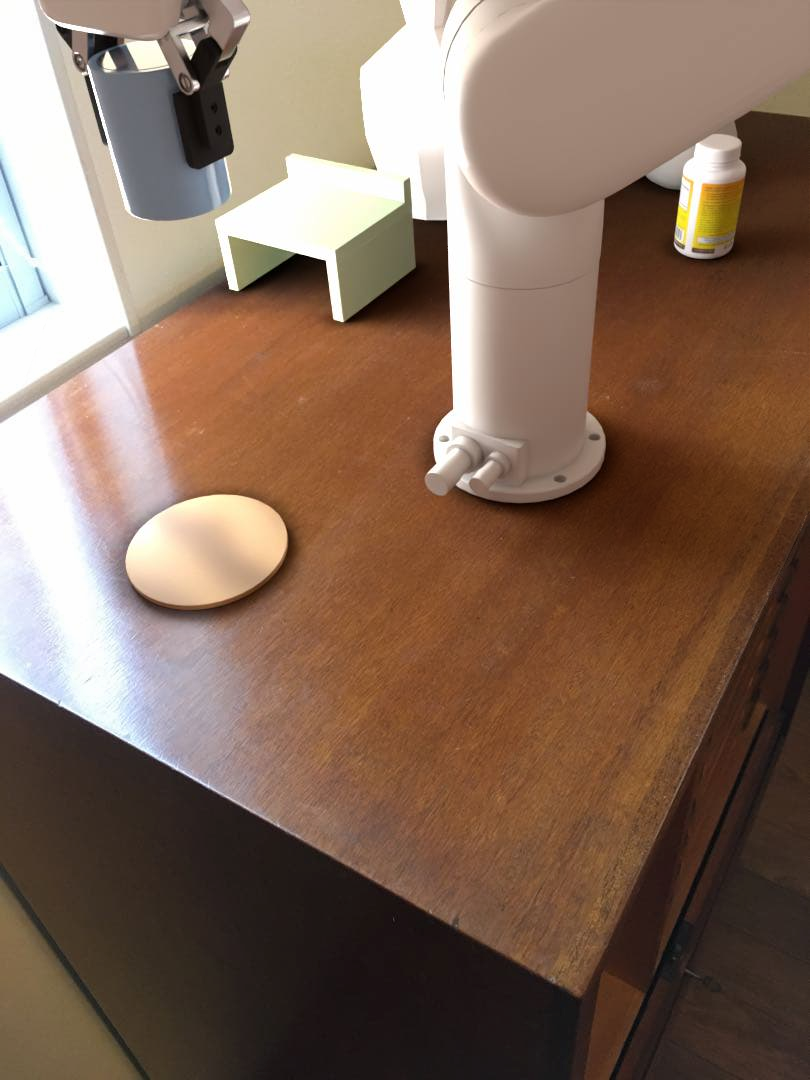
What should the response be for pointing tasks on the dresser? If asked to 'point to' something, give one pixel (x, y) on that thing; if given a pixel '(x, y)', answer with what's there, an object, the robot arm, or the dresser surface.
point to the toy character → (681, 164)
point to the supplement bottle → (710, 198)
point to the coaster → (206, 552)
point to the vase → (410, 106)
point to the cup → (151, 135)
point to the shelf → (325, 229)
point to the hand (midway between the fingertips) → (167, 147)
